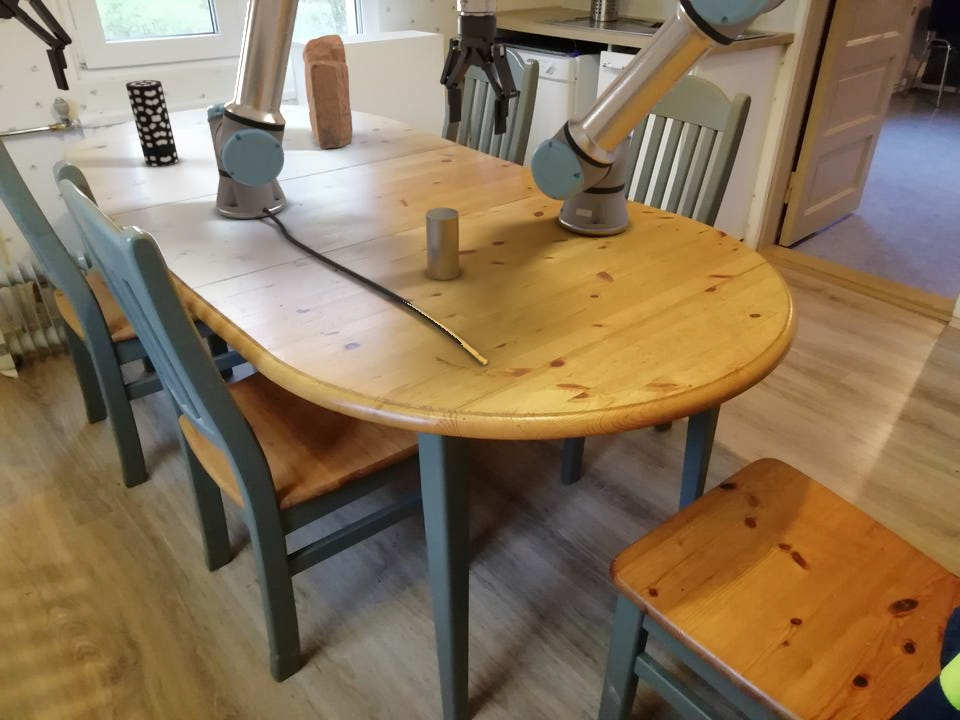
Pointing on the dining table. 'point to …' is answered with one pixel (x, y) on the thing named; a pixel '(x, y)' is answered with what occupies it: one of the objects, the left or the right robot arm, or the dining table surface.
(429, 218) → the tin
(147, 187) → the dining table surface
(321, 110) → the stone
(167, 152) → the black white spotted cylinder
